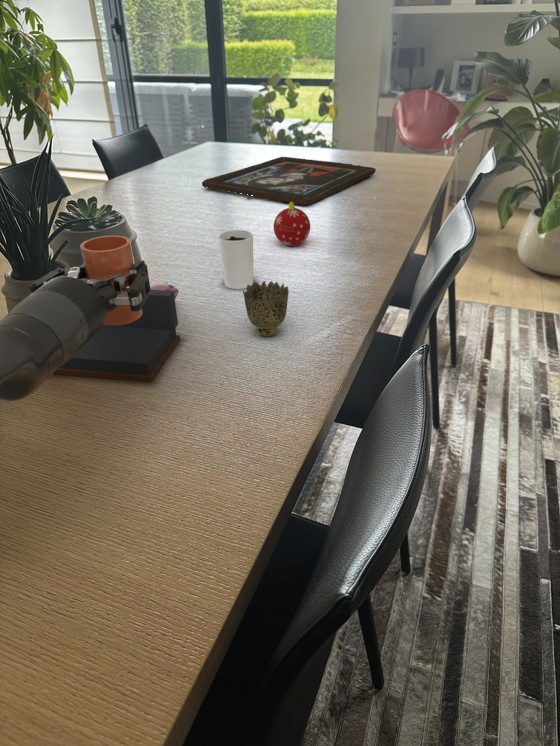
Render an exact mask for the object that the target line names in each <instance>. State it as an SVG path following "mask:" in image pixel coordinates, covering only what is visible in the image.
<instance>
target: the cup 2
mask: <svg viewBox="0 0 560 746" xmlns="http://www.w3.org/2000/svg"><path fill="white" fill-rule="evenodd" d="M289 292H290V291H289V286H285V284H284V283H282V284H281V285H280V284H279V282H278V281H276V282H275V283H274V282H273V281H272V280H271V281H269V283H268V284H266V281H264V280H263V282H262V283H261V284H259V283H258V282H257V281H253V284H252V285H251V286H250V285H247V288H246V291H245V290H242V293H243V294H242V295H243V299H244V305H245V309H246V314H247V318H248V320H249V321H250V323H251V324H252V325H253V326H254V327H256V332H257V333H258V335H260V336H262V337H272V336H275V335H276V334H277V333H278V331H279V326H280V325H282V323H284V321H285V318H286V315H287V309H288V301H289V300H288V299H289Z"/></svg>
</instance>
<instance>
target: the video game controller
mask: <svg viewBox="0 0 560 746" xmlns="http://www.w3.org/2000/svg"><path fill="white" fill-rule="evenodd" d="M150 289H151V290H167V291H174V297H175V299H177V297H178V295H179V289H178V288H176V287H175V286H174V285H172V284H169V283H168V282H167V281H165V282H164V283H163V284H155V285H152V286H150Z"/></svg>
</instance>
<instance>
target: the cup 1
mask: <svg viewBox="0 0 560 746" xmlns="http://www.w3.org/2000/svg"><path fill="white" fill-rule="evenodd" d="M79 248H80V252H81V257H82V261H83V263H84V266H85V271H86V275H87V278H89V279H93V278H101V277H103V276H106V275H108V274H111V273H113V272H115V273H118V274H121V273H123V272H126V271H128V269H129V268H131V267H132V266H133V265H134V264H135V258H134V253H133V247H132V242H131V239H130V238H129V237H127V236H124V235H123V236H122V235H101V236H97V237H93V238H90V239H87V240H85V241H83V242H82V243H81V244H80V247H79ZM111 284H112V286H113V288H114V285H113V282H111ZM124 284H125V288H126V287H127V286H129V283H128V279H127V280H125V281H124ZM142 313H143V312H142V308H141V310H139V311H131V309H130V306H129V305H118V307H117V308H116V309H114V310H111V311H109V312H108V313H107V314H106V317H105V319H104V322H103V324H104V325H110V326H117V325H124V324H128V323H131V322H134V321H136V320H137V319H139V318H140V317H141V316H142Z"/></svg>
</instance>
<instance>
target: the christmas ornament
mask: <svg viewBox="0 0 560 746" xmlns="http://www.w3.org/2000/svg"><path fill="white" fill-rule="evenodd" d="M295 205H296V204H294V203H293V202H290V203H288V207H287V208H284V209H282V210H281V211H280V212H279V213H277V215H276V216H275V219H274V221H273V233H274V235H275V237H276V238H277V240H278V241H279V242H280V243H281V244H283V245H285V246H290V247H294V246H298V245H300V244H302V243H304V242H305V241H306V240H307V239H308V237H309V235H310V232H311V221H310V218H309V216H308V214H306V213H305V212H304V211H303V210H302V209H300V208H298V207H296V206H295Z"/></svg>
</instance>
